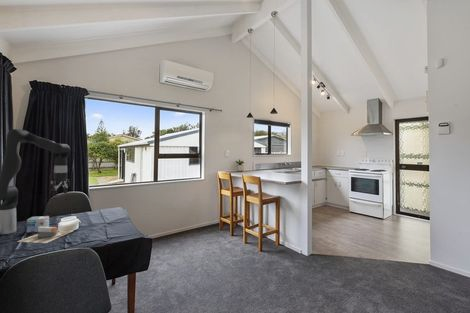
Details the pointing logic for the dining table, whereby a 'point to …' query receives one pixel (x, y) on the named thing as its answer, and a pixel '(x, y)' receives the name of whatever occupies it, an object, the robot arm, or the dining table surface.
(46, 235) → the dial
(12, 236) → the dining table surface
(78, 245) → the dining table surface
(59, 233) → the panel
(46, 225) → the light bulb box
